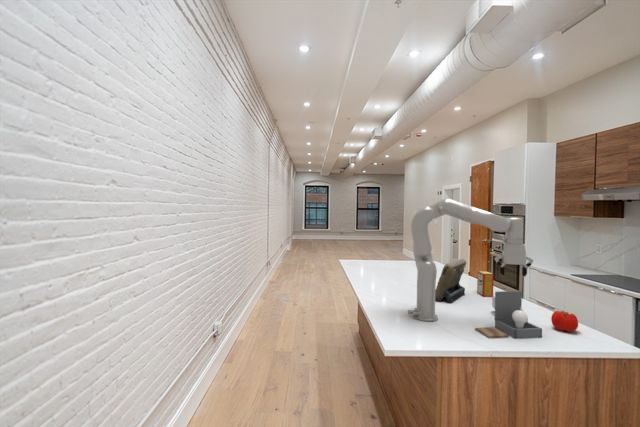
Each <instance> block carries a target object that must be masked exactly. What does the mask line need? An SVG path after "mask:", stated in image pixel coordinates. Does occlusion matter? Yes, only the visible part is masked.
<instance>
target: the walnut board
mask: <svg viewBox="0 0 640 427" xmlns="http://www.w3.org/2000/svg"><path fill="white" fill-rule="evenodd" d="M474 330H475V331H476V332H478V333H479V334H481V335H483V336H484V337H486V338H488V339H500V338H501V339H503V338H509V335H507V334H506V333H504V332H502V331H500V330H498V329H496V328H495V326H488V327H486V326H485V327H475V328H474Z"/></svg>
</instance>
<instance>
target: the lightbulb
mask: <svg viewBox="0 0 640 427" xmlns="http://www.w3.org/2000/svg"><path fill="white" fill-rule="evenodd" d="M512 319H513V320H514V322H515V325H516V328H515V329H523V326H524V324H525V323H526V322H527V319H528V320H529V318H528V314H527V313H526V312H525V311H524V310H523V311H521V310H516V311H514V312H513V313H512Z"/></svg>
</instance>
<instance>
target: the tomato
mask: <svg viewBox="0 0 640 427" xmlns="http://www.w3.org/2000/svg"><path fill="white" fill-rule="evenodd" d="M550 319H551V324H552V326H553V327H554V328H555V329H556V330H558V331H562V332H563V331H565V332H567V333H569V332H570V333H571V332H574V331H577V329H578V328H579V320H578V317H577V316H576V314H574V313H569V312H568V311H564V310H561V311H559V310H555V311H554V312H553V313H552V315H551V317H550Z"/></svg>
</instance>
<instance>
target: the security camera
mask: <svg viewBox="0 0 640 427" xmlns="http://www.w3.org/2000/svg"><path fill="white" fill-rule="evenodd" d="M491 301H492V302H491V306H492V308H493V309H494V310H490V314H491V315H492V316H493V317H495V295H493V296H492V297H491Z"/></svg>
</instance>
